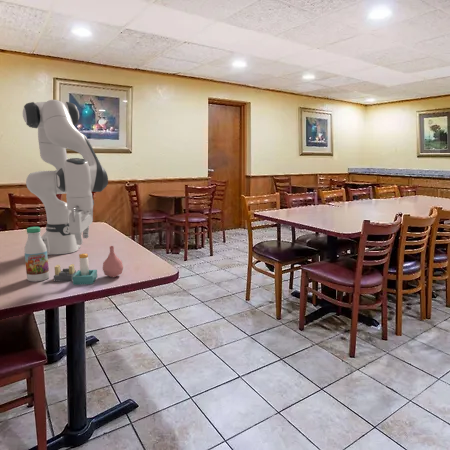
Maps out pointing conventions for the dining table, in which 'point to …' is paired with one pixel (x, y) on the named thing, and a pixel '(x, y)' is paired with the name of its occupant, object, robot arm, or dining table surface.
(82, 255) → the fuse
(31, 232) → the milk bottle
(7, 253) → the dining table surface
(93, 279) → the tray
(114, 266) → the pink bulb-shaped piece
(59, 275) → the clip block
